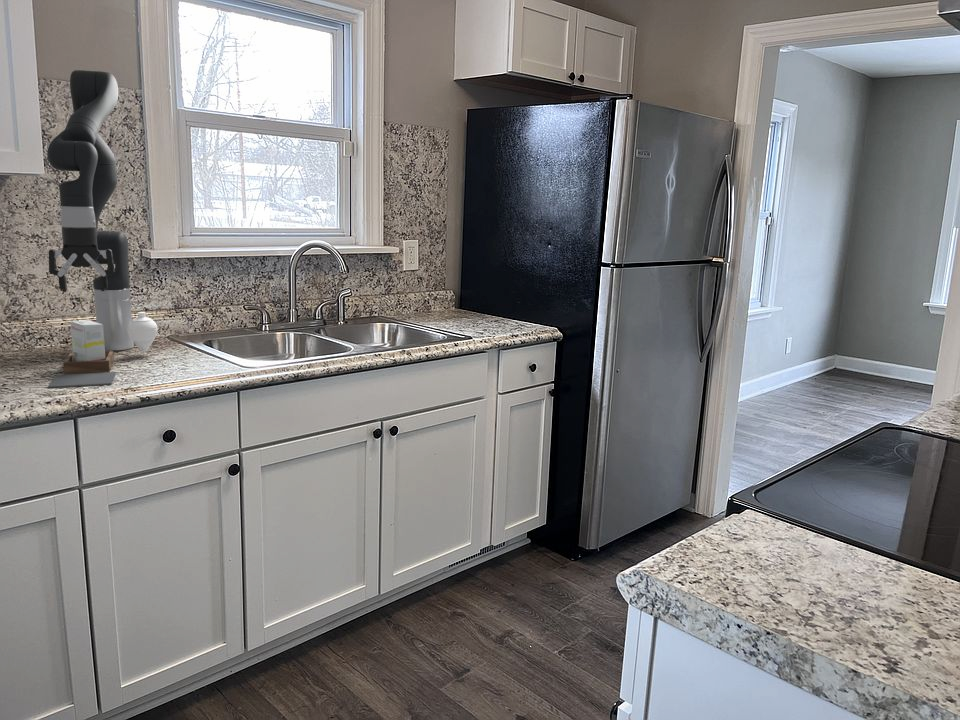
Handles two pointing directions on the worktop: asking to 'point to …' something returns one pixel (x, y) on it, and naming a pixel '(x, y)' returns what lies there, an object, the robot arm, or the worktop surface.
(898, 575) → the worktop surface
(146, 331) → the spinning top
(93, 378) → the rubber mat
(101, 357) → the ink box
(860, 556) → the worktop surface
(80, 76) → the robot arm
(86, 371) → the holder box
